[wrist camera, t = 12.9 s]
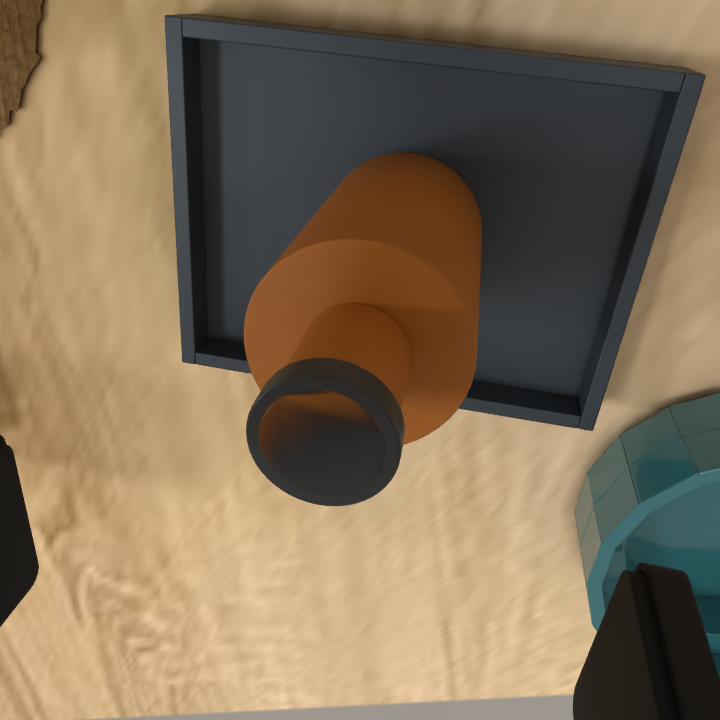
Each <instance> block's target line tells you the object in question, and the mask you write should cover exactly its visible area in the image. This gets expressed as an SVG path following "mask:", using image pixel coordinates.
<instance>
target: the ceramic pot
mask: <svg viewBox="0 0 720 720" xmlns="http://www.w3.org/2000/svg"><path fill="white" fill-rule="evenodd" d="M42 1H43V0H0V129H3V128H4V127H6V126H7V125H8V124H9V113H10V110H14V111H18V108H19V103H20V98H21V89H22V88H23V87H24V85H25V83H26V81H27V78H28V76H29V73H30V72H31V70H32V69H33V67H34V66H35V65H36V64H37V63H38V61H39V59H40V56H39V55H38V54H36V53H35V49H36V27H37V25H38V23H39V21H40V19H41V11H40V6H41V4H42Z"/></svg>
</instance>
